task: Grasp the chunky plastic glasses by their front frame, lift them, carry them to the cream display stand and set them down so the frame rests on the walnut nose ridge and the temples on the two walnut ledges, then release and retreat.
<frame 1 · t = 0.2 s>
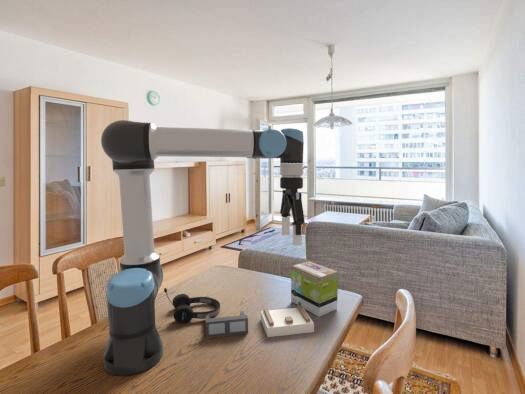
hand: (291, 239, 104), 27 cm above the table, fingers open, 13 cm apart
stand: (286, 325, 101), on the table
headset: (193, 314, 110), on the table
glasses: (227, 333, 97), on the table
tea box: (313, 306, 115), on the table
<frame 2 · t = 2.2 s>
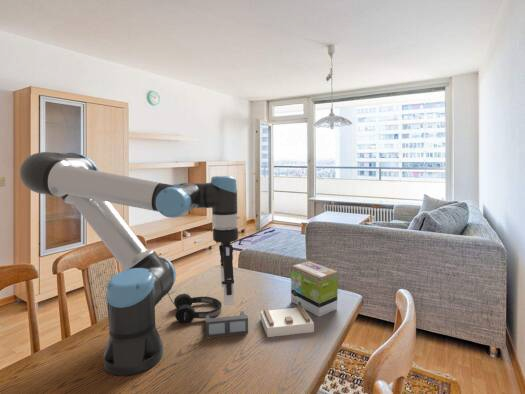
hand: (227, 294, 95), 13 cm above the table, fingers open, 13 cm apart
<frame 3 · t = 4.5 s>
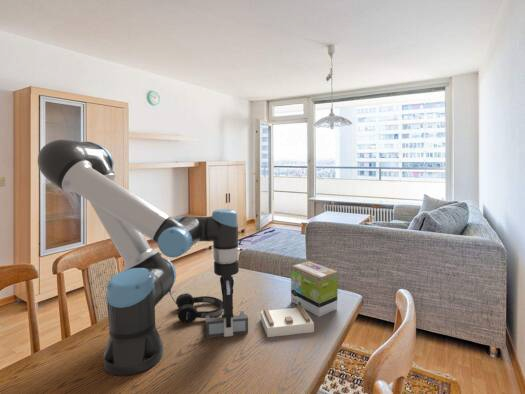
hand: (228, 332, 97), 0 cm above the table, fingers closed on glasses, 2 cm apart
glasses: (227, 333, 97), on the table, touching gripper
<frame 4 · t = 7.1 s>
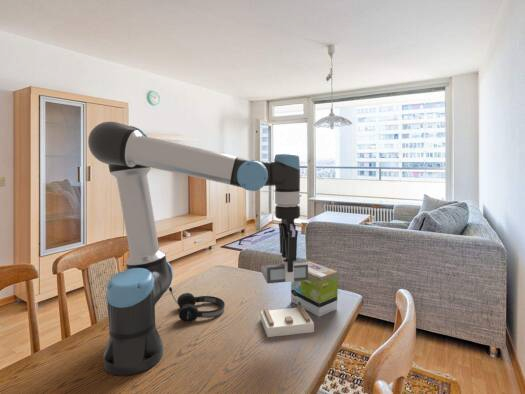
hand: (288, 279, 96), 17 cm above the table, fingers closed on glasses, 2 cm apart
glasses: (287, 280, 97), point 17 cm above the table, touching gripper
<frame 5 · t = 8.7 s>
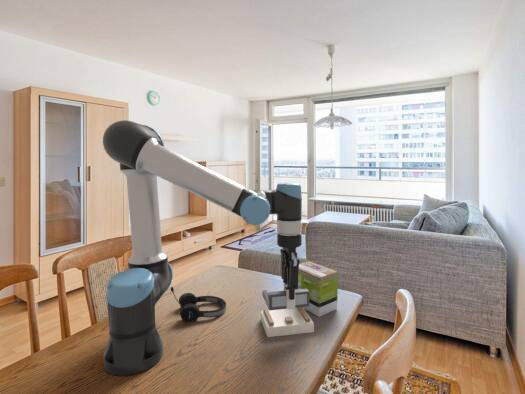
hand: (289, 305, 97), 8 cm above the table, fingers closed on glasses, 2 cm apart
glasses: (288, 306, 98), point 8 cm above the table, touching gripper
when the fingers open (5 cm above the table, at t = 9.8 s): glasses drops 1 cm, resting on stand.
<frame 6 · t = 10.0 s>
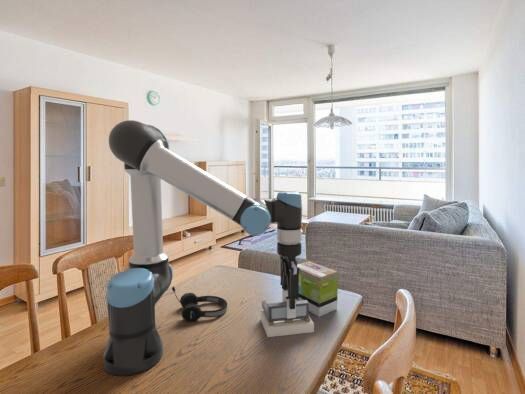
hand: (288, 313, 98), 6 cm above the table, fingers open, 5 cm apart
glasses: (287, 318, 98), point 4 cm above the table, touching stand
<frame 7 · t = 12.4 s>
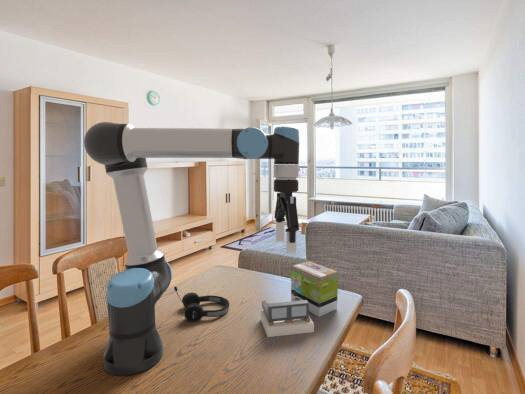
hand: (285, 247, 96), 27 cm above the table, fingers open, 13 cm apart
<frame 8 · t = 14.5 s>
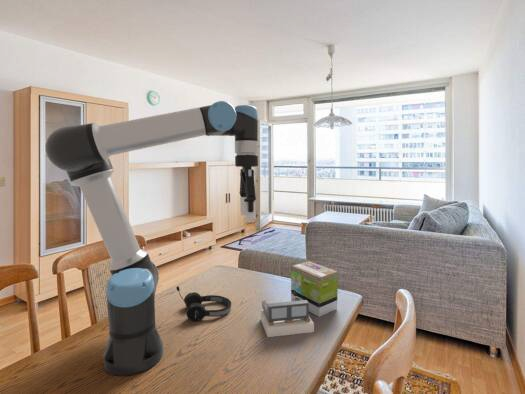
hand: (247, 218, 103), 35 cm above the table, fingers open, 13 cm apart
at the end: glasses inside the target area on the stand (0.3 cm from its centre), point 4.0 cm above the stand's base; glasses tilted 0°; the gripper is holding nothing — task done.
